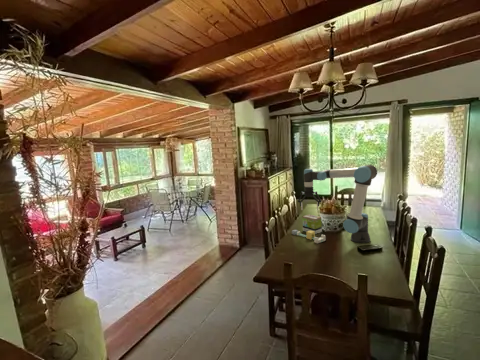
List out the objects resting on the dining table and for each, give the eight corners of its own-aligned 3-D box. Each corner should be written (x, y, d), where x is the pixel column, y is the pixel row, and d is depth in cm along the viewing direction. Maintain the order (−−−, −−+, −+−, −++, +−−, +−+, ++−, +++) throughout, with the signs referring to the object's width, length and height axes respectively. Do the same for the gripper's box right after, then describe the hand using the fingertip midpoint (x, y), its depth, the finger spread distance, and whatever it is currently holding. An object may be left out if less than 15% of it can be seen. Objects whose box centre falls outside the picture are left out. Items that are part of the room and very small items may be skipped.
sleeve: (315, 238, 248) (314, 231, 247) (311, 239, 245) (310, 232, 244) (310, 236, 252) (310, 230, 251) (306, 238, 249) (306, 231, 248)
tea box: (302, 231, 270) (302, 216, 268) (309, 228, 276) (308, 214, 274) (315, 234, 258) (314, 218, 257) (322, 232, 264) (321, 216, 263)
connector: (298, 233, 263) (298, 230, 263) (295, 234, 261) (295, 231, 260) (295, 232, 266) (295, 229, 266) (291, 233, 264) (291, 230, 263)
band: (300, 234, 260) (300, 231, 260) (298, 235, 258) (297, 232, 258) (299, 234, 261) (299, 231, 261) (297, 235, 259) (296, 232, 259)
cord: (322, 241, 239) (322, 239, 239) (321, 242, 238) (321, 240, 238) (294, 233, 265) (294, 231, 265) (293, 233, 264) (293, 232, 264)
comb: (325, 240, 242) (325, 235, 241) (317, 243, 236) (317, 238, 235) (322, 239, 245) (322, 234, 244) (314, 242, 239) (314, 237, 238)
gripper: (323, 185, 251) (324, 208, 254) (295, 186, 259) (296, 208, 261) (323, 186, 244) (324, 210, 247) (294, 187, 252) (295, 210, 254)
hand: (309, 209), depth 254 cm, fingers open, 13 cm apart
